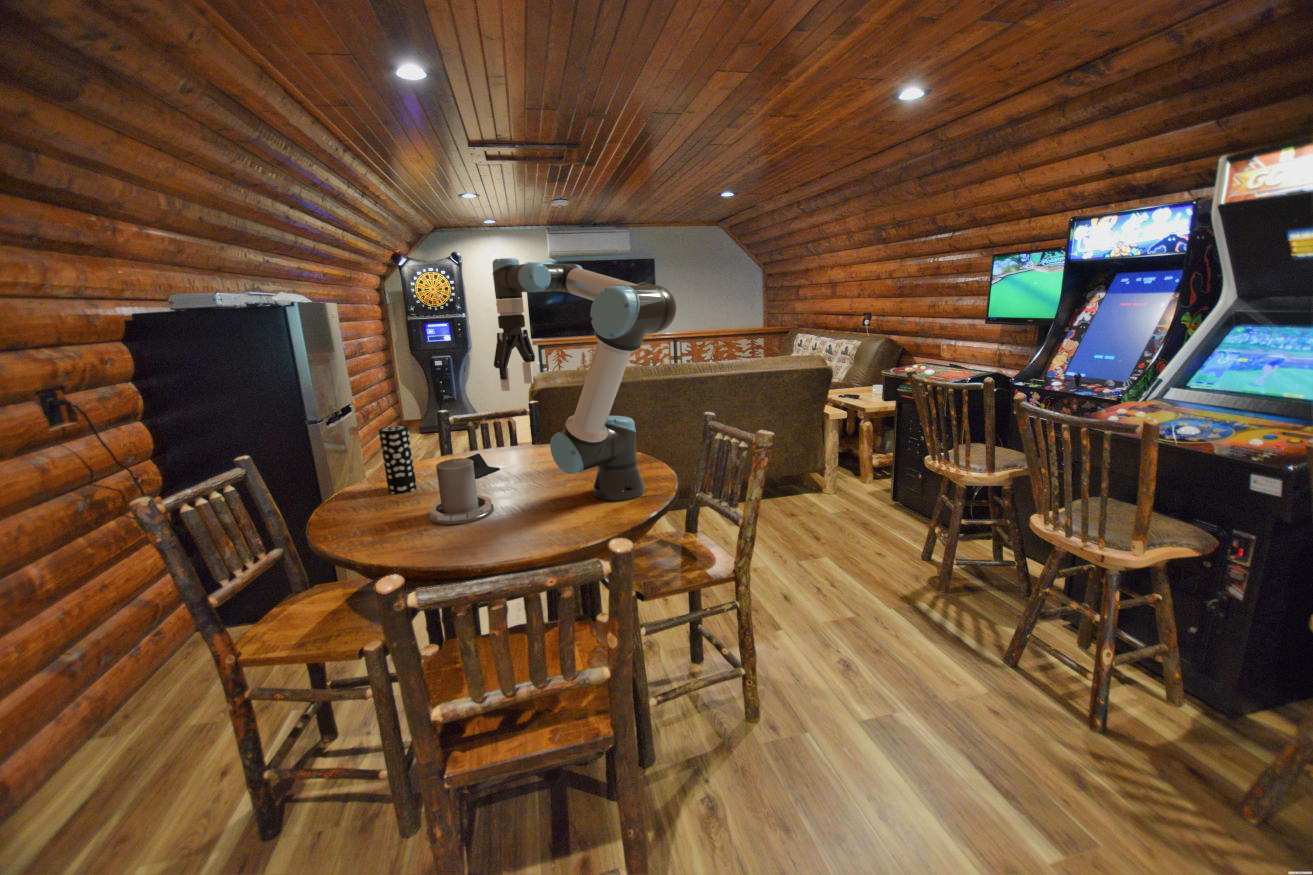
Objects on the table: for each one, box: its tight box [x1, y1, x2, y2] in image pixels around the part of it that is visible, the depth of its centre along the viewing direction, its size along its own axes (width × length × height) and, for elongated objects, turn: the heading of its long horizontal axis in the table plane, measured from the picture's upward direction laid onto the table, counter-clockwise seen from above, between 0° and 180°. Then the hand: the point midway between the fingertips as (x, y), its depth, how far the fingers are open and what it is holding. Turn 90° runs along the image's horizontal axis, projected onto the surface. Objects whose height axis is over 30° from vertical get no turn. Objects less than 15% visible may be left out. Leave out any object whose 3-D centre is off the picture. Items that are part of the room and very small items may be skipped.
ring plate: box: [428, 494, 495, 526], centre depth 160 cm, size 17×17×2 cm
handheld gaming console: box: [465, 452, 501, 480], centre depth 198 cm, size 12×7×10 cm
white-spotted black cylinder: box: [378, 425, 418, 495], centre depth 181 cm, size 8×8×20 cm
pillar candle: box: [435, 457, 479, 514], centre depth 158 cm, size 10×10×15 cm
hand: (518, 387), depth 173 cm, fingers open, 13 cm apart
